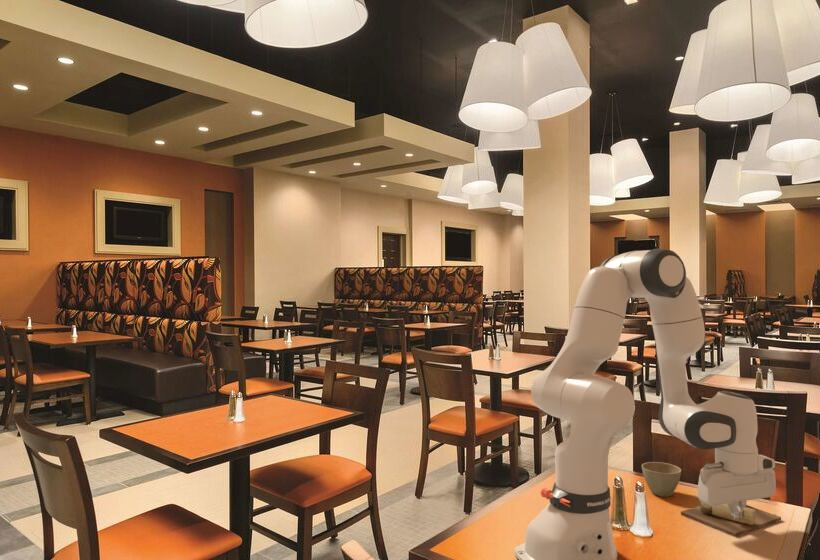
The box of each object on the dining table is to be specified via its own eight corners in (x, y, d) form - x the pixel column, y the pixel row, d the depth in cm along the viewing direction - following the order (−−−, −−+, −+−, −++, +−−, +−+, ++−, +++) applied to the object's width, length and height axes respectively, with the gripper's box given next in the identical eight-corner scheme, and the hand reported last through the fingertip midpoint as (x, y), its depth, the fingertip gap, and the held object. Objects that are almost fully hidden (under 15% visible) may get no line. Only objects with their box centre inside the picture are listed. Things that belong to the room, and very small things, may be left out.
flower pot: (677, 503, 146) (676, 476, 146) (638, 494, 152) (637, 469, 152) (685, 491, 154) (684, 465, 154) (647, 484, 160) (646, 459, 160)
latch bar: (698, 511, 137) (697, 498, 138) (703, 507, 140) (703, 494, 140) (751, 526, 129) (751, 512, 129) (756, 521, 131) (756, 507, 131)
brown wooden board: (735, 536, 126) (735, 533, 126) (680, 514, 139) (680, 511, 139) (781, 520, 134) (781, 517, 134) (725, 500, 147) (725, 497, 147)
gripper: (712, 469, 125) (712, 530, 125) (780, 460, 131) (781, 518, 131) (690, 460, 131) (691, 518, 131) (757, 452, 137) (757, 508, 137)
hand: (736, 518), depth 131 cm, fingers closed, pressing on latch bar
